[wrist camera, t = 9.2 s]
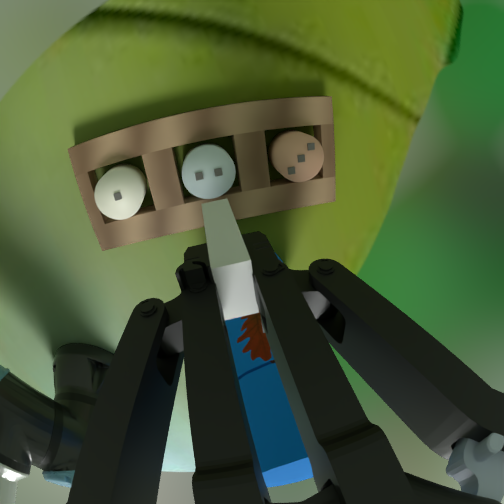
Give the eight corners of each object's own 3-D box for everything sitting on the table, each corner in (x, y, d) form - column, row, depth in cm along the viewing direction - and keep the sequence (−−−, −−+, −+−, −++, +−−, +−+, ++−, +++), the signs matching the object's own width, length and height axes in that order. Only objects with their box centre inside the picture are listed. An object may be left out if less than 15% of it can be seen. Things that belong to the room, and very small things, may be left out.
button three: (270, 177, 30) (279, 186, 27) (265, 132, 27) (274, 136, 24) (313, 170, 30) (325, 179, 27) (310, 127, 27) (323, 131, 25)
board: (106, 242, 30) (102, 250, 28) (74, 145, 23) (67, 149, 22) (327, 195, 33) (335, 201, 31) (323, 96, 26) (331, 96, 24)
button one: (110, 213, 28) (103, 225, 25) (97, 171, 25) (87, 179, 22) (152, 202, 28) (148, 213, 26) (140, 158, 26) (134, 165, 23)
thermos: (192, 261, 34) (216, 478, 13) (275, 230, 34) (383, 423, 13) (222, 319, 40) (260, 492, 19) (292, 294, 40) (369, 455, 19)
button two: (188, 193, 29) (187, 204, 26) (178, 148, 26) (176, 154, 23) (234, 184, 29) (239, 193, 27) (227, 138, 26) (231, 143, 24)
